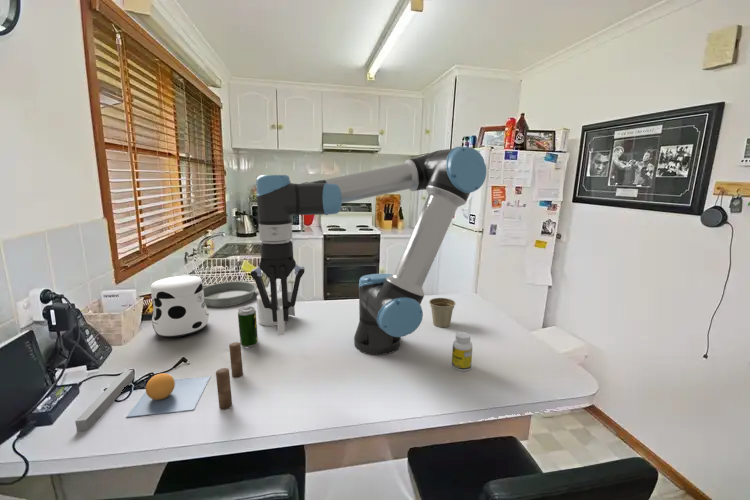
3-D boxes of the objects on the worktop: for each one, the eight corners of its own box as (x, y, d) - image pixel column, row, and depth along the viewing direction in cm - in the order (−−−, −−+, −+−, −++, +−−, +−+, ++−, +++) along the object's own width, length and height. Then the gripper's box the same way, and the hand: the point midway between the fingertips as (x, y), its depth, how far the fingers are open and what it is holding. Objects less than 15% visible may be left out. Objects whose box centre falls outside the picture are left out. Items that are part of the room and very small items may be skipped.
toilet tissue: (252, 322, 129) (250, 296, 127) (277, 312, 139) (275, 288, 137) (271, 328, 123) (269, 302, 121) (296, 317, 133) (294, 293, 131)
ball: (148, 386, 86) (173, 393, 88) (137, 401, 81) (164, 408, 82) (157, 365, 86) (181, 372, 87) (146, 378, 80) (173, 386, 82)
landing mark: (210, 376, 93) (210, 376, 93) (193, 410, 80) (193, 409, 80) (153, 382, 91) (153, 381, 91) (126, 417, 77) (126, 416, 77)
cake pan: (219, 313, 139) (218, 302, 138) (186, 301, 152) (185, 291, 151) (268, 296, 159) (268, 286, 158) (235, 287, 172) (234, 278, 171)
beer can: (242, 349, 108) (239, 313, 106) (238, 343, 113) (235, 308, 110) (260, 345, 111) (257, 310, 109) (255, 338, 116) (253, 304, 113)
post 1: (233, 401, 83) (230, 367, 81) (230, 409, 80) (227, 374, 78) (221, 402, 82) (217, 368, 81) (217, 410, 80) (214, 375, 78)
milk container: (220, 322, 128) (215, 276, 125) (185, 344, 112) (178, 291, 108) (180, 318, 132) (175, 273, 129) (141, 338, 116) (133, 287, 112)
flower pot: (425, 327, 125) (426, 304, 123) (431, 317, 133) (432, 296, 132) (451, 331, 121) (453, 308, 120) (456, 321, 130) (457, 299, 128)
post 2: (243, 371, 96) (241, 341, 94) (241, 377, 93) (239, 346, 91) (233, 372, 95) (230, 342, 93) (230, 378, 93) (228, 347, 91)
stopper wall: (134, 378, 93) (133, 369, 92) (87, 430, 73) (85, 420, 73) (126, 378, 92) (124, 370, 92) (77, 431, 73) (75, 421, 73)
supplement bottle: (447, 364, 100) (449, 332, 98) (462, 360, 102) (464, 329, 100) (459, 373, 95) (461, 340, 93) (475, 369, 97) (477, 337, 95)
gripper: (244, 244, 78) (252, 341, 82) (303, 242, 80) (307, 337, 85) (250, 239, 85) (257, 328, 90) (304, 237, 87) (308, 324, 92)
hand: (281, 332), depth 87 cm, fingers closed
